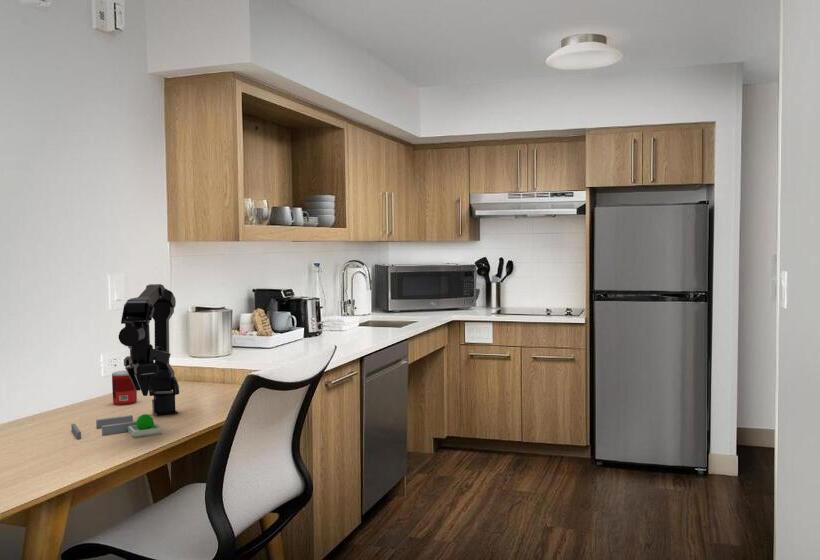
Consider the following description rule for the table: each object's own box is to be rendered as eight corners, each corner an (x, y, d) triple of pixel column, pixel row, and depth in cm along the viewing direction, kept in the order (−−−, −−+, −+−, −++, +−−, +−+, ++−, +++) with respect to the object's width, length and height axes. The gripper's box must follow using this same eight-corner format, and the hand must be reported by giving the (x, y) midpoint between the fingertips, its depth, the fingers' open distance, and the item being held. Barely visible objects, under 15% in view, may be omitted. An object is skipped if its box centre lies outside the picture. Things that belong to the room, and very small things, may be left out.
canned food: (141, 402, 268) (140, 371, 267) (122, 406, 261) (121, 375, 260) (127, 399, 272) (126, 369, 271) (108, 404, 265) (107, 373, 264)
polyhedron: (136, 429, 226) (135, 413, 226) (153, 427, 228) (153, 412, 228) (136, 433, 222) (136, 417, 221) (154, 431, 223) (153, 415, 223)
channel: (131, 422, 238) (131, 414, 238) (140, 430, 228) (139, 422, 228) (71, 430, 229) (71, 422, 229) (77, 439, 219) (77, 430, 218)
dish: (155, 428, 230) (155, 422, 230) (161, 433, 223) (161, 427, 223) (127, 432, 226) (127, 426, 226) (133, 438, 219) (133, 431, 219)
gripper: (175, 342, 220) (177, 395, 221) (159, 335, 236) (161, 384, 237) (136, 346, 214) (138, 400, 216) (122, 338, 230) (124, 389, 231)
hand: (141, 393), depth 225 cm, fingers open, 9 cm apart
